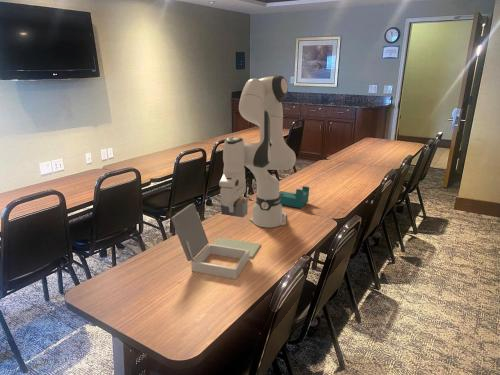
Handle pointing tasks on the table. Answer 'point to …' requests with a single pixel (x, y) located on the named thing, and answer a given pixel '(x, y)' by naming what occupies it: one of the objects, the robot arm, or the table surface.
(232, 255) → the equipment case
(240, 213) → the module
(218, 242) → the sage mat
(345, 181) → the table surface
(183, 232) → the case lid
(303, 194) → the teal l-shaped bracket
